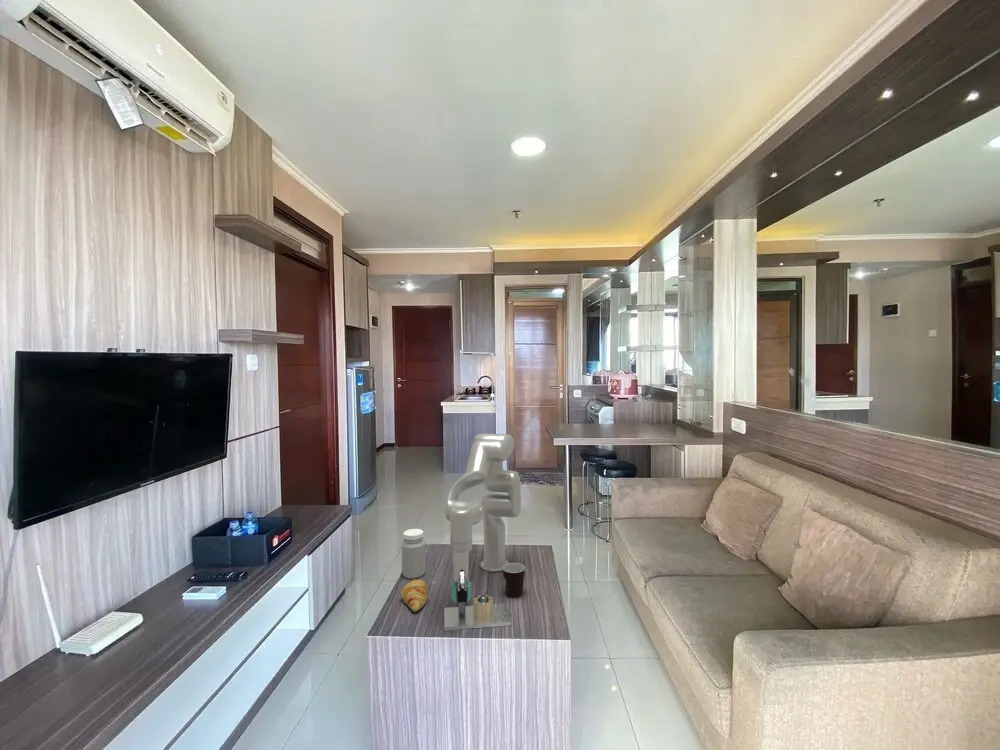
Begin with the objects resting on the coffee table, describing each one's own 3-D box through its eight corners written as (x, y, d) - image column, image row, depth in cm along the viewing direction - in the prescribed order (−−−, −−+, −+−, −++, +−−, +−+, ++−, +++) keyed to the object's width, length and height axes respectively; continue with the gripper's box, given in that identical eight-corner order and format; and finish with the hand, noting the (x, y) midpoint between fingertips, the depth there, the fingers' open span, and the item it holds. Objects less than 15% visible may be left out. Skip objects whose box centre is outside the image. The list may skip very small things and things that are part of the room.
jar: (416, 567, 188) (416, 526, 188) (430, 574, 181) (429, 531, 181) (397, 574, 181) (397, 532, 181) (410, 582, 174) (410, 538, 174)
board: (444, 611, 152) (444, 590, 152) (505, 606, 155) (505, 586, 155) (444, 630, 140) (444, 608, 140) (510, 625, 143) (510, 603, 143)
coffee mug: (523, 600, 159) (523, 573, 159) (500, 598, 160) (500, 571, 160) (527, 585, 170) (527, 560, 170) (506, 583, 172) (506, 559, 172)
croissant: (424, 623, 151) (434, 602, 152) (398, 613, 149) (409, 592, 149) (421, 592, 171) (430, 574, 172) (398, 584, 169) (407, 565, 170)
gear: (451, 593, 150) (451, 579, 150) (471, 592, 150) (470, 578, 151) (451, 603, 143) (451, 588, 143) (472, 602, 144) (472, 587, 144)
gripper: (450, 535, 155) (450, 585, 155) (450, 555, 138) (451, 610, 138) (470, 534, 156) (471, 583, 156) (473, 553, 139) (474, 608, 138)
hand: (461, 595), depth 147 cm, fingers closed on gear, 6 cm apart
